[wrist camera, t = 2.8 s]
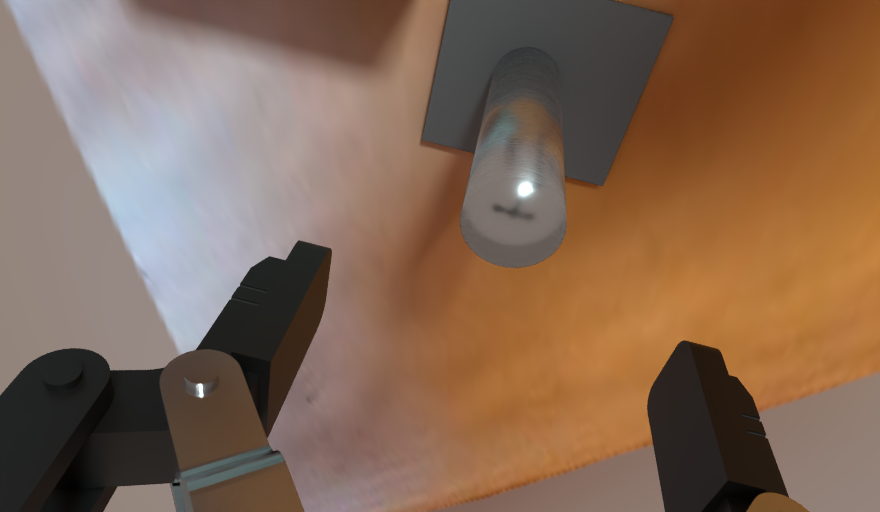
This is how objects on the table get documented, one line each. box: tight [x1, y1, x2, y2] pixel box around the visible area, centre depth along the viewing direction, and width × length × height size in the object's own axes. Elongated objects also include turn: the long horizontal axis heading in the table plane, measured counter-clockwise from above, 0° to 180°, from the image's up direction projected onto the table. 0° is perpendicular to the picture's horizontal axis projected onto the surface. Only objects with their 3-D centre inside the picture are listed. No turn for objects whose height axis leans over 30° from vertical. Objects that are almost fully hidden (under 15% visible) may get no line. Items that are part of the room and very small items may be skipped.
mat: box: [422, 0, 674, 186], centre depth 27 cm, size 9×8×1 cm
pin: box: [460, 47, 567, 268], centre depth 22 cm, size 3×3×12 cm
